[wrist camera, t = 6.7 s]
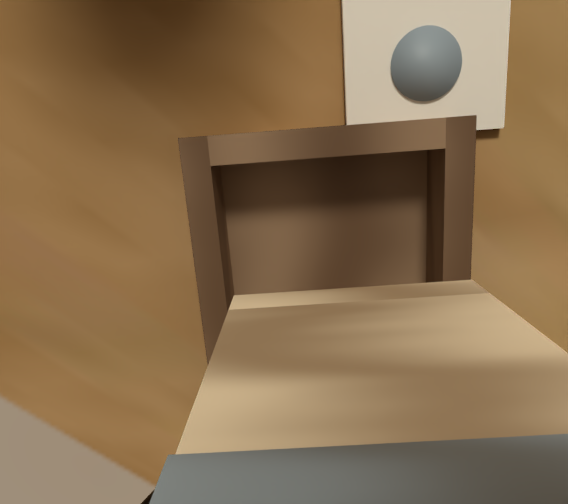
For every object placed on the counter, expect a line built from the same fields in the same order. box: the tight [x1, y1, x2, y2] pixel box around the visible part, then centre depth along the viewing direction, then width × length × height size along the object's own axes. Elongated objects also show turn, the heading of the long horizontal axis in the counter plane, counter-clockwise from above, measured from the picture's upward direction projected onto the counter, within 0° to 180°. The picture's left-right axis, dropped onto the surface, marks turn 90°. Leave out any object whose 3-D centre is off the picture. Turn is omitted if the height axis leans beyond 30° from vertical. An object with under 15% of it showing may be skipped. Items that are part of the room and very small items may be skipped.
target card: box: [341, 0, 511, 130], centre depth 15 cm, size 6×9×1 cm, turn 4°
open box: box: [178, 115, 477, 364], centre depth 17 cm, size 10×12×3 cm
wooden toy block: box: [149, 280, 568, 504], centre depth 7 cm, size 5×5×6 cm
